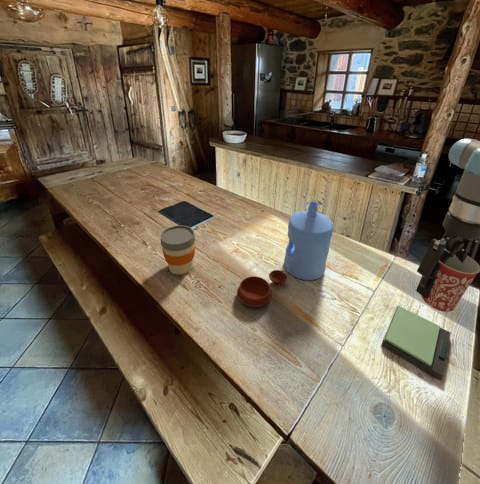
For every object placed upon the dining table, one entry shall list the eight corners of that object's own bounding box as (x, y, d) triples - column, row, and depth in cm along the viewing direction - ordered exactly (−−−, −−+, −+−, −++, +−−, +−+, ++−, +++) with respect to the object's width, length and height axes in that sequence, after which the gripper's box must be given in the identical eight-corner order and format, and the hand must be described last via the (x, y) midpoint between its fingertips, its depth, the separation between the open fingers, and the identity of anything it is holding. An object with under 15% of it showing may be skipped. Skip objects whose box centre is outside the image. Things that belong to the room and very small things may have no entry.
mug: (468, 316, 65) (491, 274, 59) (430, 314, 65) (449, 272, 60) (436, 279, 76) (453, 240, 71) (404, 277, 77) (418, 239, 71)
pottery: (230, 293, 91) (230, 284, 89) (272, 269, 102) (273, 260, 100) (251, 317, 83) (252, 307, 81) (295, 288, 94) (296, 279, 92)
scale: (448, 337, 78) (451, 330, 77) (440, 380, 67) (444, 374, 66) (395, 310, 86) (398, 304, 85) (381, 345, 75) (383, 338, 74)
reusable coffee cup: (201, 271, 101) (199, 239, 94) (168, 282, 96) (164, 248, 89) (191, 252, 111) (189, 221, 104) (161, 261, 106) (156, 229, 99)
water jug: (329, 263, 106) (342, 201, 94) (316, 287, 94) (329, 220, 82) (293, 249, 114) (301, 190, 102) (277, 270, 102) (283, 206, 90)
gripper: (482, 202, 66) (449, 272, 76) (417, 214, 60) (391, 288, 70) (518, 218, 60) (477, 292, 70) (450, 232, 54) (416, 311, 64)
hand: (434, 290), depth 70 cm, fingers closed on mug, 8 cm apart
